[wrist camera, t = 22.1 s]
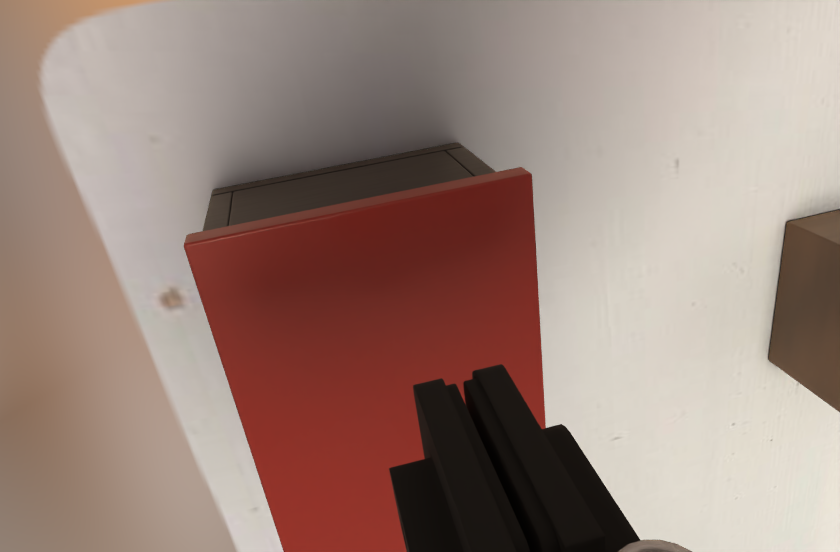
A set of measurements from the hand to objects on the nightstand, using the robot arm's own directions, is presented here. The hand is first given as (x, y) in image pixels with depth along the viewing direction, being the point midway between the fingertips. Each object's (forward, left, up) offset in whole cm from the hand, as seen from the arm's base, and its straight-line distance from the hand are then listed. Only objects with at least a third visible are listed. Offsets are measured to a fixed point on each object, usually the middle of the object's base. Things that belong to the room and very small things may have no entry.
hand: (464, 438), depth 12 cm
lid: (+5, 0, -8) cm, 9 cm away
